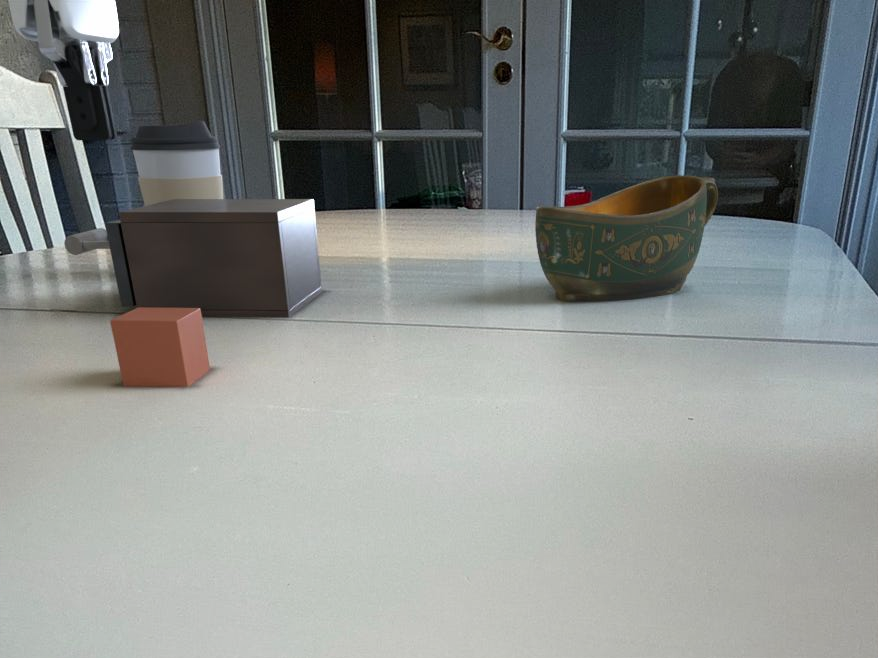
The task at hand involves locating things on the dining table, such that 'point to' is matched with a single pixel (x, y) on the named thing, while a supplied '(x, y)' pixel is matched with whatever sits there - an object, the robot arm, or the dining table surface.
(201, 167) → the coffee cup
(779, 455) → the dining table surface
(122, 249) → the drawer
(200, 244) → the cabinet
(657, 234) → the creamer
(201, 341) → the block
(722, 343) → the dining table surface
